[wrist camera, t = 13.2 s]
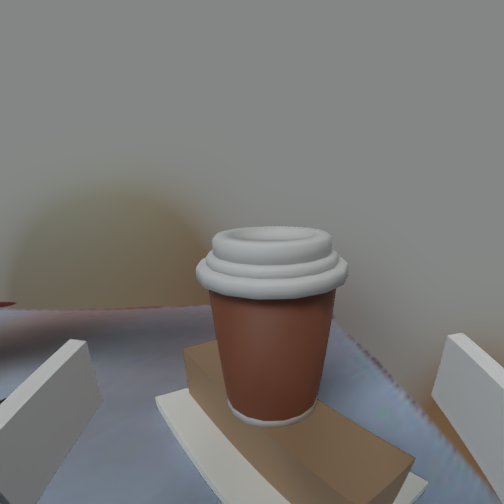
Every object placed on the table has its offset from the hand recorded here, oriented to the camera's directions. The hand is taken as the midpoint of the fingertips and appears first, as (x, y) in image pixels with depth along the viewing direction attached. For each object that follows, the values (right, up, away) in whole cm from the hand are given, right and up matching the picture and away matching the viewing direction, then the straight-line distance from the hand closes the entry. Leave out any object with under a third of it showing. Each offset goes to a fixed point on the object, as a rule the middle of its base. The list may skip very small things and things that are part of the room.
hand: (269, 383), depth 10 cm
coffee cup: (+1, -6, +11) cm, 13 cm away
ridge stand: (+1, -13, +13) cm, 18 cm away
